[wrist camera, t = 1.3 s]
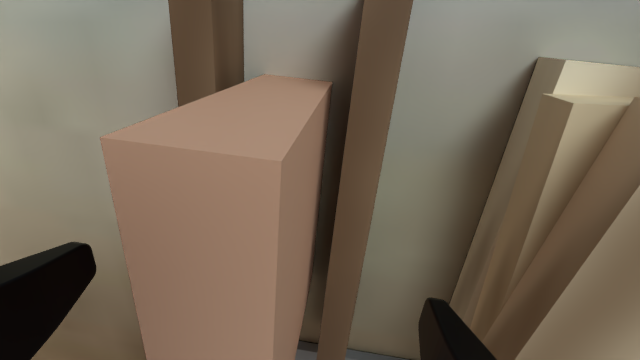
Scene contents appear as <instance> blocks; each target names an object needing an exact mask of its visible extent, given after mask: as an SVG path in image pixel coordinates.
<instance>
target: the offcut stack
mask: <svg viewBox="0 0 640 360" xmlns="http://www.w3.org/2000/svg"><path fill="white" fill-rule="evenodd" d="M449 306H450V307H451V308H452V309H453V310H454V311H455V312H456V314H457V315H458V316H459V317H460V318H461V319H462V320H463V321H464V323H465V324H466V325H467V326H468V327H469V328H470V329H471V331H472V332H473V333H474V334H475V335H476V336H477V337H478V338H479V340H480V341H481V342H482V343H483V344H484V345H485V346H486V347H487V349H488V350H489V351H490V352H491V353H492V354H493V355H494V357H495V358H496V359H497V360H640V67H631V66H622V65H612V64H602V63H592V62H583V61H573V60H563V59H554V58H544V57H539V58H538V61H537V63H536V66H535V69H534V72H533V74H532V77H531V80H530V83H529V85H528V88H527V91H526V94H525V97H524V99H523V102H522V105H521V108H520V110H519V113H518V116H517V119H516V121H515V124H514V127H513V130H512V133H511V135H510V138H509V141H508V144H507V146H506V149H505V152H504V155H503V157H502V160H501V163H500V166H499V169H498V171H497V174H496V177H495V180H494V182H493V185H492V188H491V191H490V193H489V196H488V199H487V202H486V205H485V207H484V210H483V213H482V216H481V218H480V221H479V224H478V227H477V229H476V232H475V235H474V238H473V241H472V243H471V246H470V249H469V252H468V254H467V257H466V260H465V263H464V266H463V268H462V271H461V274H460V277H459V279H458V282H457V285H456V288H455V290H454V293H453V296H452V299H451V302H450V304H449Z"/></svg>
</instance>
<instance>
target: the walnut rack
mask: <svg viewBox="0 0 640 360" xmlns="http://www.w3.org/2000/svg"><path fill="white" fill-rule="evenodd" d="M168 3H169V13H170V23H171V34H172V44H173V54H174V65H175V75H176V86H177V96H178V106H179V107H180V106H183V105H186V104H188V103H191V102H193V101H196V100H199V99H201V98H204V97H206V96H209V95H212V94H214V93H217V92H220V91H222V90H225V89H227V88H230V87H233V86H235V85H238V84H240V83H243V82H244V41H243V0H168ZM412 4H413V0H364V5H363V12H362V20H361V27H360V35H359V43H358V50H357V58H356V65H355V73H354V80H353V88H352V95H351V103H350V110H349V118H348V125H347V133H346V140H345V148H344V156H343V163H342V171H341V178H340V186H339V193H338V201H337V208H336V216H335V223H334V231H333V238H332V246H331V253H330V261H329V269H328V276H327V284H326V291H325V299H324V306H323V314H322V321H321V329H320V336H319V344H318V351H317V359H316V360H345V356H346V351H347V346H348V340H349V335H350V330H351V325H352V319H353V314H354V309H355V303H356V298H357V293H358V288H359V282H360V277H361V272H362V267H363V261H364V256H365V251H366V246H367V240H368V235H369V230H370V225H371V219H372V214H373V209H374V203H375V198H376V193H377V188H378V182H379V177H380V172H381V167H382V161H383V156H384V151H385V146H386V140H387V135H388V130H389V125H390V119H391V114H392V109H393V104H394V98H395V93H396V88H397V82H398V77H399V72H400V67H401V61H402V56H403V51H404V46H405V40H406V35H407V30H408V25H409V19H410V14H411V9H412Z"/></svg>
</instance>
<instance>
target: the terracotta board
mask: <svg viewBox="0 0 640 360" xmlns="http://www.w3.org/2000/svg"><path fill="white" fill-rule="evenodd" d="M331 91H332V82H328V81H319V80H310V79H301V78H292V77H283V76H275V75H266V74H264V75H261V76H259V77H256V78H253V79H251V80H248V81H246V82H243V83H240V84H238V85H235V86H233V87H230V88H227V89H225V90H222V91H220V92H217V93H214V94H212V95H209V96H206V97H204V98H201V99H199V100H196V101H193V102H191V103H188V104H186V105H183V106H180V107H178V108H175V109H173V110H170V111H167V112H165V113H162V114H160V115H157V116H154V117H152V118H149V119H146V120H144V121H141V122H139V123H136V124H133V125H131V126H128V127H126V128H123V129H120V130H118V131H115V132H113V133H110V134H107V135H105V136H102V137H100V140H101V145H102V150H103V155H104V159H105V164H106V169H107V174H108V178H109V183H110V188H111V193H112V197H113V202H114V207H115V212H116V216H117V221H118V226H119V231H120V235H121V240H122V245H123V250H124V254H125V259H126V264H127V269H128V273H129V278H130V283H131V288H132V292H133V297H134V302H135V307H136V311H137V316H138V321H139V326H140V330H141V335H142V340H143V345H144V349H145V354H146V359H147V360H295V356H296V351H297V346H298V341H299V336H300V332H301V327H302V322H303V317H304V312H305V307H306V303H307V298H308V293H309V288H310V283H311V278H312V271H313V261H314V252H315V242H316V233H317V223H318V214H319V204H320V195H321V186H322V176H323V167H324V157H325V148H326V138H327V129H328V119H329V110H330V101H331Z"/></svg>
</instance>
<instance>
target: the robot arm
mask: <svg viewBox="0 0 640 360" xmlns="http://www.w3.org/2000/svg"><path fill="white" fill-rule="evenodd" d="M95 273H96V264H95V260H94V256H93V252H92V249H91V247H90V246H89V245H88V244H86V243H79V242H70V243H67V244H64V245H61V246H58V247H55V248H52V249H49V250H46V251H43V252H40V253H37V254H34V255H31V256H28V257H26V258H23V259H20V260H17V261H14V262H11V263H8V264H5V265H2V266H0V360H31V359H32V357H33V356H34V355H35V354H36V353H37V351H38V350H39V349H40V348H41V347H42V346H43V344H44V343H45V342H46V341H47V340H48V338H49V337H50V336H51V335H52V334H53V332H54V331H55V330H56V329H57V327H58V326H59V325H60V323H61V322H62V321H63V319H64V318H65V317H66V315H67V314H68V312H69V311H70V310H71V308H72V307H73V305H74V304H75V303H76V301H77V300H78V298H79V297H80V296H81V294H82V293H83V291H84V290H85V289H86V287H87V286H88V284H89V283H90V282H91V280H92V279H93V277H94V276H95ZM419 343H420V356H421V360H497V359H496V358H495V357H494V355H493V354H492V353H491V352H490V351H489V350H488V349H487V347H486V346H485V345H484V344H483V343H482V342H481V341H480V340H479V338H478V337H477V336H476V335H475V334H474V333H473V332H472V331H471V329H470V328H469V327H468V326H467V325H466V324H465V323H464V321H463V320H462V319H461V318H460V317H459V316H458V315H457V314H456V312H455V311H454V310H453V309H452V308H451V307H450V306H449V305H448V303H447V302H446V301H444V300H442V299H436V298H427V299H426V301H425V304H424V307H423V310H422V313H421V317H420V320H419Z"/></svg>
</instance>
